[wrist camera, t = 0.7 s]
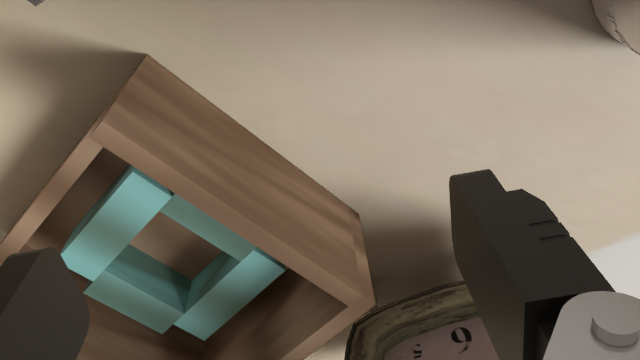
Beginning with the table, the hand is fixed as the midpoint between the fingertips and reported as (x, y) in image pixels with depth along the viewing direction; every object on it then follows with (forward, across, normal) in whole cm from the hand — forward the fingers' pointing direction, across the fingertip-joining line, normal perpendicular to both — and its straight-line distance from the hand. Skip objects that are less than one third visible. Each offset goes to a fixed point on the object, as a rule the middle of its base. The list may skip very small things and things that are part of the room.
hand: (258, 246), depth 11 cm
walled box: (+20, +8, +12) cm, 25 cm away
